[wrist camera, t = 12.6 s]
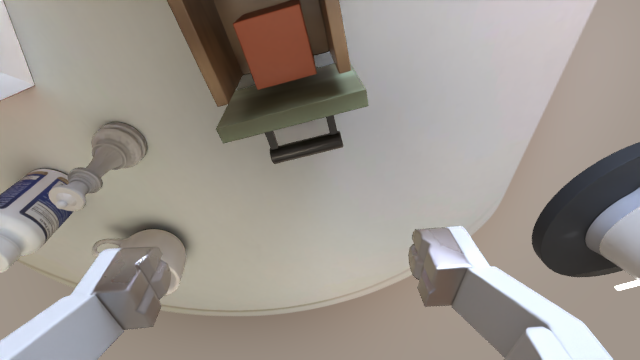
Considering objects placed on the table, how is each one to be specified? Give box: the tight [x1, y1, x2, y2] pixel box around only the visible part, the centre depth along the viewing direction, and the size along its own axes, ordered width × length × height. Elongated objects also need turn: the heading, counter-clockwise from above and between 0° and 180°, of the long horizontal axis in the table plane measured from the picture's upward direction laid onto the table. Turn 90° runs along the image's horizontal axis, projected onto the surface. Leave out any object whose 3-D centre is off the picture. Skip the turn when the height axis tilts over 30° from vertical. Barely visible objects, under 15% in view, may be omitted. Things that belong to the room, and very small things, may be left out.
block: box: [233, 0, 317, 90], centre depth 21 cm, size 4×4×4 cm
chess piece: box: [48, 122, 147, 211], centre depth 25 cm, size 4×4×10 cm
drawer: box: [167, 0, 368, 164], centre depth 21 cm, size 17×10×8 cm, turn 14°
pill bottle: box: [0, 169, 74, 273], centre depth 28 cm, size 5×5×10 cm
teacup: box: [92, 229, 186, 296], centre depth 35 cm, size 10×8×5 cm
